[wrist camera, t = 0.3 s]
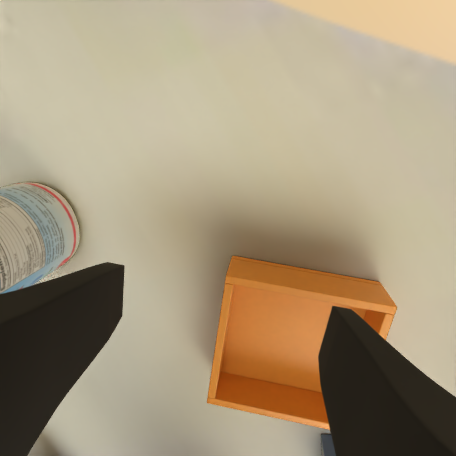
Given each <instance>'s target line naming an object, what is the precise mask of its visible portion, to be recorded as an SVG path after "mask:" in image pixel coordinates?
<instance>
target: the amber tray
mask: <svg viewBox="0 0 456 456" xmlns="http://www.w3.org/2000/svg"><path fill="white" fill-rule="evenodd" d="M332 306H337V307H342V308H348V309H352V310H353V311H354V312H355V313H357V314H358V315H359V316H360V317H361V318H362V319H363V320H364V321H366V322H367V323H368V324H369V325H370V326H371V327H372V328H373V329H374V330H375V331H376V332H377V333H378V334H379V335H380V336H381V337H383V338H384V339H385V340H386V338H387V335H388V332H389V329H390V326H391V323H392V321H393V318H394V314H395V312H396V310H397V306H396V305H395V303H394V302H393V300H392V299H391V297H390V296H389V294H388V293H387V292H386V290H385V289H384V287H383V286H382V284H381V283H380V282H377V281H371V280H366V279H360V278H355V277H349V276H344V275H338V274H332V273H327V272H321V271H316V270H310V269H305V268H299V267H293V266H288V265H282V264H277V263H271V262H266V261H260V260H255V259H249V258H243V257H238V256H232V258H231V261H230V264H229V267H228V271H227V274H226V279H225V285H224V292H223V299H222V305H221V312H220V319H219V325H218V332H217V339H216V345H215V352H214V358H213V365H212V372H211V378H210V385H209V392H208V398H207V403H210V404H214V405H219V406H224V407H228V408H233V409H237V410H242V411H246V412H251V413H256V414H260V415H265V416H269V417H274V418H278V419H283V420H288V421H292V422H297V423H301V424H306V425H310V426H315V427H320V428H324V429H329V430H330V427H329V422H328V418H327V413H326V409H325V404H324V399H323V395H322V390H321V385H320V375H319V362H318V355H319V351H320V347H321V344H322V340H323V337H324V333H325V330H326V326H327V323H328V319H329V316H330V312H331V309H332Z"/></svg>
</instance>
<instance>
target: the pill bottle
mask: <svg viewBox="0 0 456 456" xmlns="http://www.w3.org/2000/svg"><path fill="white" fill-rule="evenodd" d="M79 239H80V232H79V225H78V222H77V219H76V216H75V214H74V212H73V210H72V208H71V206H70V205H69V203H68V202H67V201H66V200H65V198H64V197H63V196H61V195H60V194H59V193H58V192H56V191H55V190H53V189H52V188H50V187H47V186H45V185H42V184H39V183H33V182H23V183H17V184H12V185H8V186H3V187H0V294H3V293H7V292H11V291H15V290H19V289H22V288H26V287H29V286H32V285H33V284H35V283H36V282H38V281H39V280H41V279H42V278H44V277H45V276H47V275H48V274H50V273H51V272H53V271H54V270H56V269H57V268H59V267H60V266H62V265H63V264H64V263H66V262H67V261H68V260H69V259H70V258H71V257H72V256H73V255H74V253H75V252H76V250H77V248H78V244H79Z"/></svg>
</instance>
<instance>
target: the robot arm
mask: <svg viewBox="0 0 456 456" xmlns="http://www.w3.org/2000/svg"><path fill="white" fill-rule="evenodd" d="M123 286H124V265H119V264H114V263H109V262H107V263H102V264H99V265H95V266H92V267H89V268H86V269H83V270H80V271H77V272H74V273H71V274H68V275H65V276H62V277H59V278H56V279H52V280H49V281H46V282H42V283H39V284H36V285H32V286H29V287H26V288H22V289H19V290H15V291H11V292H7V293H3V294H0V456H27V455H28V453H29V452H30V450H31V448H32V447H33V445H34V443H35V442H36V440H37V438H38V437H39V435H40V434H41V432H42V431H43V429H44V427H45V426H46V424H47V423H48V421H49V420H50V418H51V416H52V415H53V413H54V412H55V410H56V408H57V407H58V406H59V404H60V403H61V401H62V400H63V399H64V397H65V396H66V394H67V393H68V392H69V390H70V389H71V388H72V387H73V385H74V384H75V383H76V381H77V380H78V379H79V378H80V376H81V375H82V374H83V372H84V371H85V370H86V369H87V367H88V366H89V365H90V363H91V362H92V361H93V360H94V358H95V357H96V356H97V354H98V353H99V352H100V350H101V349H102V348H103V346H104V345H105V344H106V342H107V341H108V340H109V338H110V336H111V335H112V333H113V331H114V330H115V328H116V326H117V324H118V323H119V321H120V319H121V317H122V310H123ZM318 362H319V375H320V385H321V390H322V395H323V399H324V404H325V409H326V413H327V418H328V422H329V427H330V431H331V436H332V440H333V445H334V449H335V454H336V456H456V397H455V396H453V395H452V394H451V393H449V392H448V391H446V390H445V389H444V388H442V387H441V386H440V385H438V384H437V383H435V382H434V381H433V380H432V379H430V378H429V377H428V376H426V375H425V374H424V373H423V372H422V371H420V370H419V369H418V368H417V367H416V366H414V365H413V364H412V363H411V362H409V361H408V360H407V359H406V358H405V357H404V356H402V355H401V354H400V353H399V352H398V351H397V350H396V349H395V348H393V347H392V346H391V345H390V344H389V343H388V342H387V341H386V340H385V339H384V338H383V337H381V336H380V335H379V334H378V333H377V332H376V331H375V330H374V329H373V328H372V327H371V326H370V325H369V324H368V323H367V322H366V321H364V320H363V319H362V318H361V317H360V316H359V315H358V314H357V313H355V312H354V311H353V310H352V309H348V308H342V307H337V306H332V309H331V312H330V316H329V319H328V323H327V326H326V330H325V333H324V337H323V340H322V344H321V347H320V351H319V355H318Z"/></svg>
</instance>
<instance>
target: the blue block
mask: <svg viewBox="0 0 456 456" xmlns="http://www.w3.org/2000/svg"><path fill="white" fill-rule="evenodd" d="M321 447H322V456H336V454H335V449H334V445H333V440H332V436H331V434H321Z"/></svg>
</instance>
